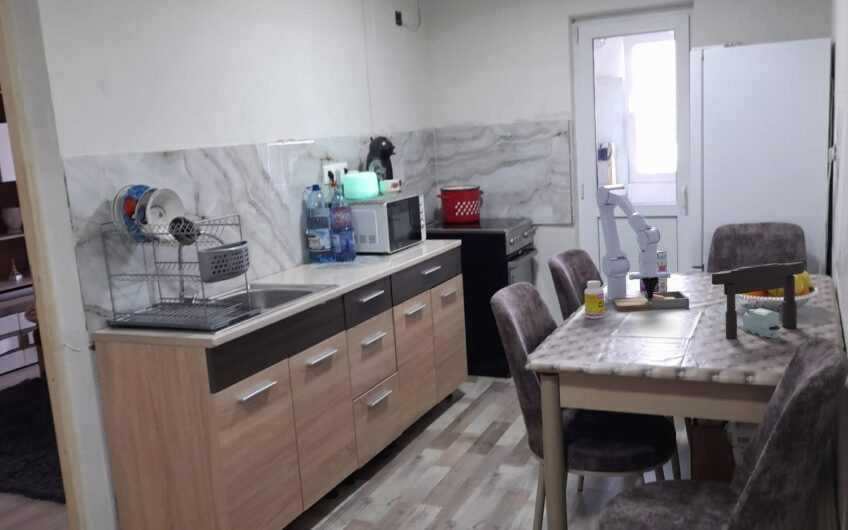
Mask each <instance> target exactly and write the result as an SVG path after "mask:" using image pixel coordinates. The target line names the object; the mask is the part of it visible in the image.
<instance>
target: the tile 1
mask: <svg viewBox="0 0 848 530" xmlns="http://www.w3.org/2000/svg"><path fill="white" fill-rule="evenodd" d="M661 299H665V298H664V297H663V296H662V295H655V294H653V298H651V300H661Z"/></svg>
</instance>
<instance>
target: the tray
mask: <svg viewBox="0 0 848 530" xmlns="http://www.w3.org/2000/svg"><path fill="white" fill-rule="evenodd" d="M653 294H655V295H662V296H663V297H674V298H675V299H661V300H651V299H649V298H648V295H647V292H644V297H645V298H646V299H647V300H648V301H649V302H650V303H651V304H652V310H651V311H654V310H655V311H656V310H657V311H659V310H676V309H690V298H689V297H688V296H686V294H685V293H683V291H681V290H673V291H671V290H670V291H667V292H654V293H653Z"/></svg>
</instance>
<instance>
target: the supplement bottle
mask: <svg viewBox="0 0 848 530" xmlns="http://www.w3.org/2000/svg"><path fill="white" fill-rule="evenodd" d="M586 285H587V288H585V289H584V311H585V312H584V315H585V317H586V318H587V319H589V318H590V320H598V319H599V318H600V319H603V318H604V317H605V291H604V289H603V288H601V285H602V284H601V281H600V280H588V281H587V282H586ZM600 319H599V320H600Z"/></svg>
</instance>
